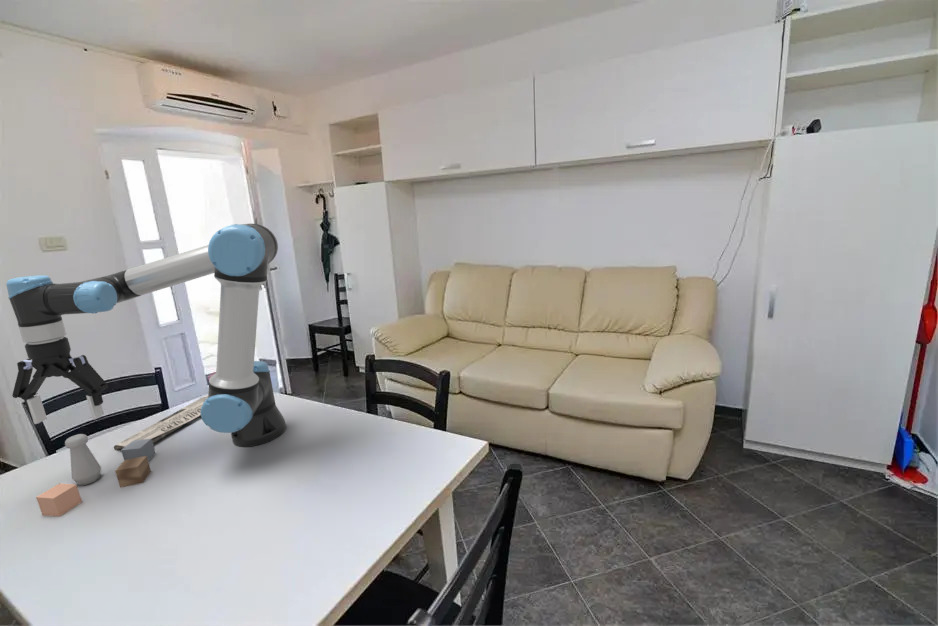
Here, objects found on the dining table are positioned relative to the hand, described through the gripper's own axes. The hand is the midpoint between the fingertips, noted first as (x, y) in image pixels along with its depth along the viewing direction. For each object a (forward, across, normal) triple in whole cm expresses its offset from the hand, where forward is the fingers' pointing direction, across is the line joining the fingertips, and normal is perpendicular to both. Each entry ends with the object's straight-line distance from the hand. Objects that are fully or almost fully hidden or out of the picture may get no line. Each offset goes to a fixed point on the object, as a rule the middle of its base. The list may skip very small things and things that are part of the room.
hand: (69, 419), depth 106 cm
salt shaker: (+18, 0, 0) cm, 18 cm away
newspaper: (+19, -7, -29) cm, 35 cm away
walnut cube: (+18, -13, +2) cm, 22 cm away
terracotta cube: (+18, -2, +11) cm, 21 cm away
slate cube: (+18, -8, -8) cm, 21 cm away
